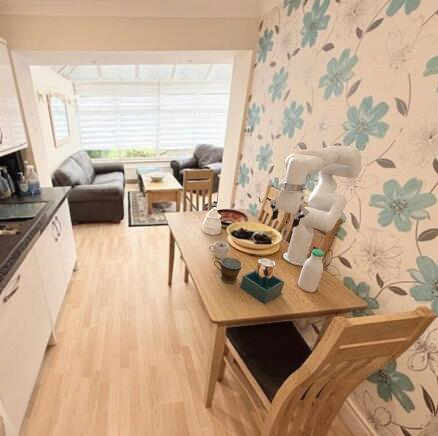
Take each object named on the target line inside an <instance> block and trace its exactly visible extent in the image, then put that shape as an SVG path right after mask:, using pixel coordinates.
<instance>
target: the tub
mask: <svg viewBox="0 0 438 436" xmlns="http://www.w3.org/2000/svg"><path fill="white" fill-rule="evenodd" d="M256 272H257V268H256V269H254V270H252V271H250V272H248V273H246V274H244V275H242V277H241V282H240V288H241V289H243V290H244V292H246V293H247V294H249V295H251V296H252V297H253V298H254V299H257V301H259V302H261V303H262V304H263V305H265V304H266V303H268V302H270V301H271V300H273V299H274V298H277V297H278V296H279V295H281V294H282V292H283V288H284V285H285V281H284V280H282V279H280V278H279V277H277V276H275V275H273V276H272V279H271V280H270V282H269V285H268V290H266V289H264V288H263V287H261V286H260V285H258V284H256Z"/></svg>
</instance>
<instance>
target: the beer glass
mask: <svg viewBox="0 0 438 436" xmlns="http://www.w3.org/2000/svg"><path fill="white" fill-rule="evenodd" d="M275 268H276V263H275V261H273V260H272V259H270V258H266V257H265V258H264V257H263V258H259V260H258V263H257V266H256V269H257V272H256V284H258V285H260V286H261V287H263V288H264V289H266V290H268V285H269V282H270V280H271V279H272V276H274V274H275Z"/></svg>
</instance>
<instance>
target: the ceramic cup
mask: <svg viewBox="0 0 438 436" xmlns="http://www.w3.org/2000/svg"><path fill="white" fill-rule="evenodd" d="M216 263H217V264H219V266H220V267H219V266H218V265H216ZM213 265H214V266H215V267H216V268H217V269H218V270H219V271H220V273H221V280H222V281H223V282H224V283H226V284H234V283H236V282H237V278H238V276H239V274H240V272H241V270H242V267H243V262H242V261H241V260H239V259H237V258H236V257H231V256H226V257H225V258H222V259H220V261H219V260H215V261H214V262H213Z"/></svg>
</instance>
